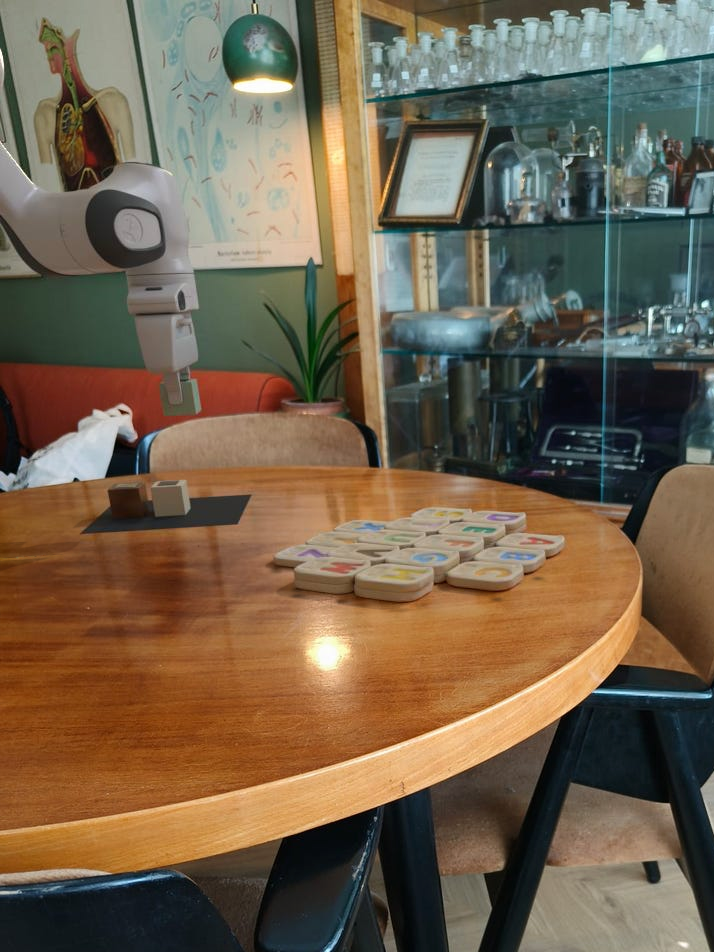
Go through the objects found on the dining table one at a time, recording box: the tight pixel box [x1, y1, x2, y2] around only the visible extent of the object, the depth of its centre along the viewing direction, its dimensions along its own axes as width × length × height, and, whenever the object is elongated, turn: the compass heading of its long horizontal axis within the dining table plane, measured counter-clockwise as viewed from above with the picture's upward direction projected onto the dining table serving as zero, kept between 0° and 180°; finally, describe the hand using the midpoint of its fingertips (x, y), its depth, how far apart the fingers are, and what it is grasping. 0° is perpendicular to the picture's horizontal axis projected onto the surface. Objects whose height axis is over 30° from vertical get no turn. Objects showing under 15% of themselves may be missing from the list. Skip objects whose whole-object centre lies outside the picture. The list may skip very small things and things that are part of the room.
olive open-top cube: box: [158, 378, 202, 417], centre depth 126 cm, size 4×4×5 cm
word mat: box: [79, 494, 253, 535], centre depth 136 cm, size 22×20×1 cm
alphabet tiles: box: [272, 506, 566, 603], centre depth 111 cm, size 33×33×2 cm
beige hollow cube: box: [150, 479, 191, 517], centre depth 135 cm, size 4×4×5 cm
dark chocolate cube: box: [107, 481, 150, 519], centre depth 134 cm, size 4×4×5 cm
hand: (180, 401), depth 126 cm, fingers closed on olive open-top cube, 4 cm apart
